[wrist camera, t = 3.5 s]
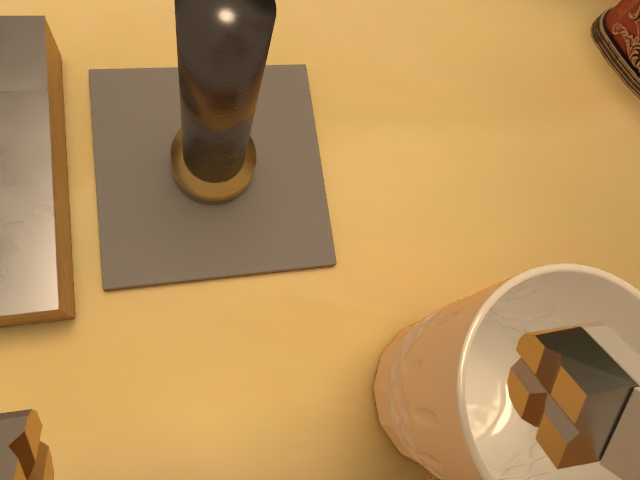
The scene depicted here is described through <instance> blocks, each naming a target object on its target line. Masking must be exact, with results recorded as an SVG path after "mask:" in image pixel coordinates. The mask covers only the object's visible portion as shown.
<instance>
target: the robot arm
mask: <svg viewBox="0 0 640 480" xmlns="http://www.w3.org/2000/svg"><path fill="white" fill-rule="evenodd" d="M516 351H517V353H518V354H519V356H520V359H519V360H518V361H517V362H516V363H515V364H514V365H513V366H512V367H511V368H510V372H509V376H508V380H507V385H508V392H509V397H510V400H511V402H512V405H513V407H514V409H515V410H516V412H517V413H518V415H519V416H520V418H521V419H523V420H524V421H526V422H528V423H529V424H531V425H533V426H535V427H536V433H535V439H536V440H537V442H538V443H539V445H540V446H541V448H542V449H543V450H544V452H545V453H546V455H547V456H548V457H549V459H550V460H551V462H552V463H553V464H554V466H555V467H556V469H562V468H568V467H573V466H578V465H584V464H589V463H594V462H600V461H601V462H600V465H602V466H603V467H605V468H606V469H607V470H609V471H610V472H612V473H613V474H615V475H616V476H617V477H619V478H620V479H622V480H640V356H639V355H638V354H637V353H636V352H635V351H634V350H633V349H632V348H631V347H630V346H629V345H628V344H627V343H626V342H624V341H623V340H622V339H621V338H620V337H619V336H618V335H617V334H616V333H615V332H614V331H613V330H612V329H611V328H610V327H609V326H608V325H606V324H604V323H602V322H599V321H595V322H589V323H583V324H577V325H573V326H565V327H559V328H553V329H547V330H541V331H535V332H529V333H524V334H523V335H522V337H521V338H520V339H519V341H518V344H517V347H516ZM41 430H42V424H41V421H40V418H39V416H38V413H37V411H36V410H33V409H30V410H23V411H15V412H7V413H0V480H54V469H53V462H52V456H51V453H50V449H49V446H48V445H46V444H44V443H42V442H41V441H40V435H41Z"/></svg>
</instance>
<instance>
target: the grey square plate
mask: <svg viewBox="0 0 640 480" xmlns="http://www.w3.org/2000/svg"><path fill="white" fill-rule="evenodd" d="M89 83H90V98H91V113H92V128H93V144H94V159H95V174H96V190H97V205H98V220H99V235H100V251H101V266H102V281H103V290H104V291H109V290H118V289H127V288H137V287H146V286H155V285H164V284H173V283H182V282H192V281H201V280H210V279H219V278H228V277H237V276H247V275H256V274H265V273H274V272H283V271H292V270H301V269H311V268H320V267H329V266H335V265H336V264H337V263H336V256H335V250H334V243H333V237H332V230H331V224H330V218H329V211H328V205H327V198H326V192H325V185H324V179H323V172H322V166H321V160H320V153H319V147H318V140H317V134H316V127H315V121H314V115H313V108H312V102H311V95H310V89H309V82H308V76H307V70H306V65H265V69H264V73H263V78H262V82H261V87H260V92H259V96H258V101H257V105H256V110H255V115H254V119H253V124H252V128H251V133H250V136H251V138H252V140H253V142H254V144H255V148H256V155H257V157H256V165H255V169H254V173H253V176H252V180H251V182H250V184H249V186H248V188H247V189H246V191H245V192H244V193H243V194H242V195H241V196H240V197H238V198H237V199H235V200H233V201H231V202H229V203H226V204H221V205H207V204H202V203H199V202H196V201H194V200H192V199H191V198H189V197H188V196H187V195H185V194H184V193H183V192H182V191H181V190H180V188H179V187H178V185H177V184H176V182H175V179H174V177H173V172H172V164H171V145H172V142H173V139H174V137H175V135H176V133H177V132H178V131H179V129H180V128H181V111H180V92H179V73H178V68H135V69H92V70H89Z"/></svg>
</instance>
